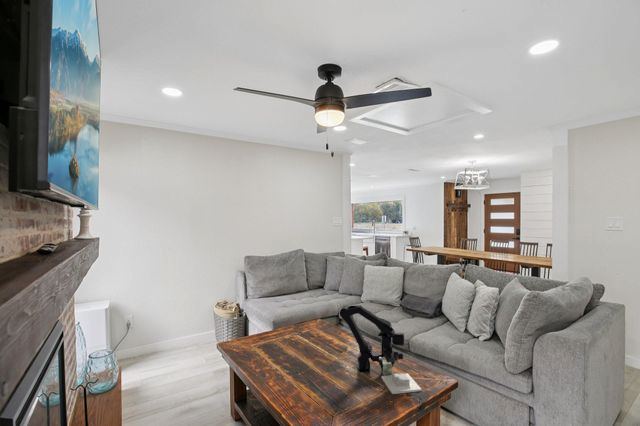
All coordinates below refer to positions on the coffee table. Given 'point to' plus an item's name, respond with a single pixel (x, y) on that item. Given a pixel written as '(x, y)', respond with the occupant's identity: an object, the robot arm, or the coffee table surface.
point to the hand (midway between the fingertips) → (386, 370)
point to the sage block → (386, 368)
